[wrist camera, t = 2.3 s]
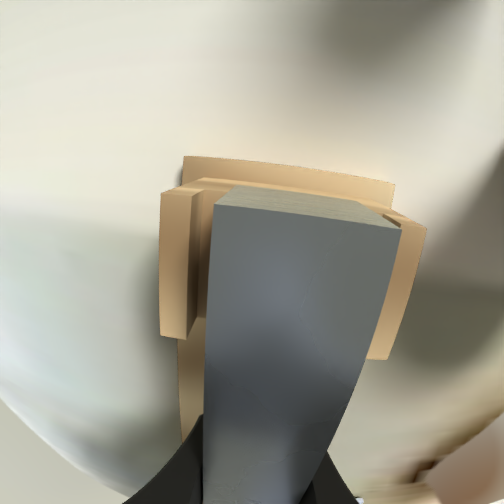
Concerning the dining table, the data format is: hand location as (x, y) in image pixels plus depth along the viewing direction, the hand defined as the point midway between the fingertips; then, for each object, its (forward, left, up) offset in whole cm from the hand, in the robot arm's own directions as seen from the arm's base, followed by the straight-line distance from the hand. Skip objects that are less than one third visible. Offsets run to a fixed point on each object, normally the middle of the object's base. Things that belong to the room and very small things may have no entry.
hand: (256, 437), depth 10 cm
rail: (0, 0, 0) cm, 0 cm away
